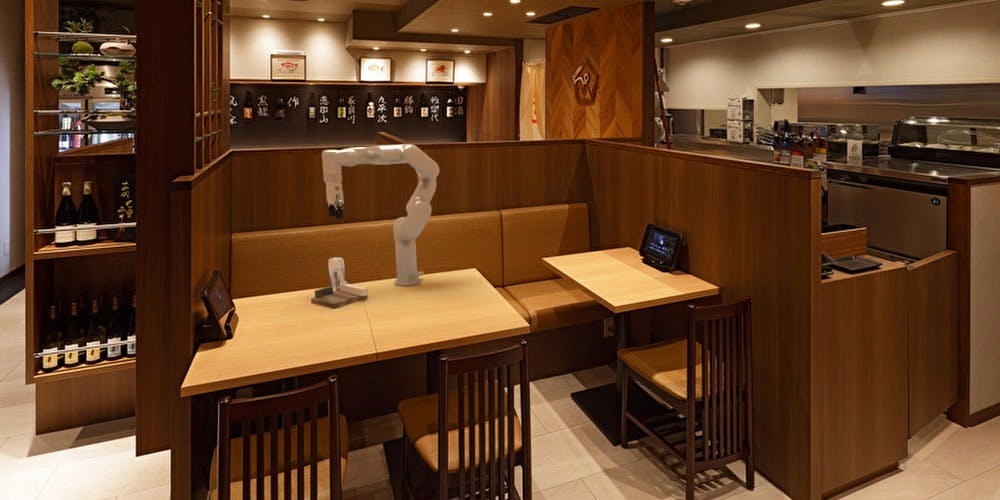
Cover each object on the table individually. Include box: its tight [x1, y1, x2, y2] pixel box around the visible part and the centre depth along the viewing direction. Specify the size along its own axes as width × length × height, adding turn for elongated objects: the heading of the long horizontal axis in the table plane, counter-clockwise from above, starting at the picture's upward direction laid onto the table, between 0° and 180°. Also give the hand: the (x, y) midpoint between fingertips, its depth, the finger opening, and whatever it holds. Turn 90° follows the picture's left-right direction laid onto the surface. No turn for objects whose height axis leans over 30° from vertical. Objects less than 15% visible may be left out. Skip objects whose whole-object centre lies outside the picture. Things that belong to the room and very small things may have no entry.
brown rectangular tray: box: [310, 285, 368, 310], centre depth 244 cm, size 18×15×5 cm
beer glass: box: [328, 256, 346, 292], centre depth 258 cm, size 7×7×15 cm
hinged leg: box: [340, 280, 369, 296], centre depth 247 cm, size 15×3×4 cm, turn 55°
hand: (335, 217), depth 251 cm, fingers open, 9 cm apart
